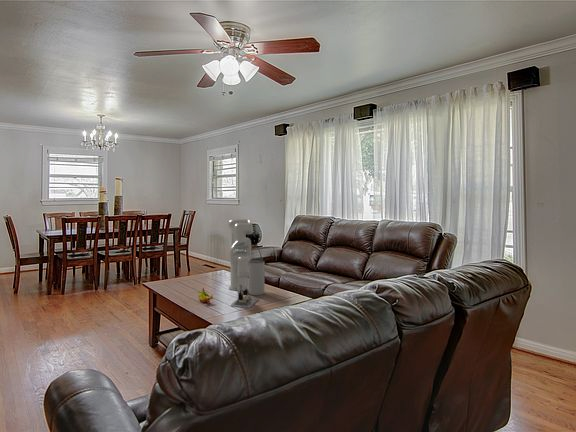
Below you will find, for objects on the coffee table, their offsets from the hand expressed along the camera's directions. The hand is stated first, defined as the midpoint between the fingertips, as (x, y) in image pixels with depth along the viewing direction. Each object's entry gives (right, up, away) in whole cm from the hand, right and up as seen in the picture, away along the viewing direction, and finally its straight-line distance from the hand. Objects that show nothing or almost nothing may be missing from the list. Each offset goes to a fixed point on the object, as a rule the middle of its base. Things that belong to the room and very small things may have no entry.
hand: (243, 297), depth 263 cm
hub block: (0, -4, 0) cm, 4 cm away
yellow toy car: (-29, -4, +7) cm, 30 cm away
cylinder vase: (+7, -3, +29) cm, 30 cm away
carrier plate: (+1, -4, +4) cm, 6 cm away
